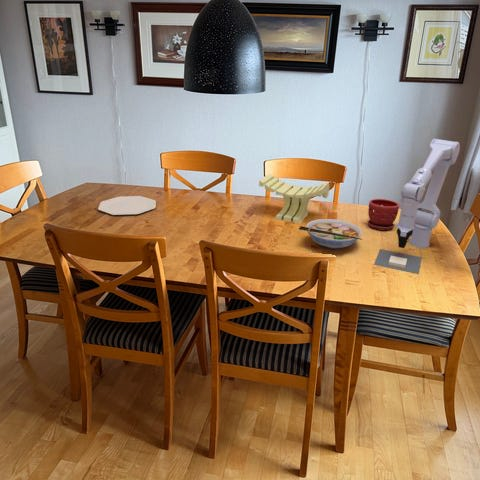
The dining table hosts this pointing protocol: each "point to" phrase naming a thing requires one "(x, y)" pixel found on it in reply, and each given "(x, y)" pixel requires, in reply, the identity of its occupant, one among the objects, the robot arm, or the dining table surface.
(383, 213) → the plant pot
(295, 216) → the slatted curved stool
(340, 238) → the ramen bowl
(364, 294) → the dining table surface
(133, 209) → the plate
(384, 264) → the mat
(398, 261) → the tile
